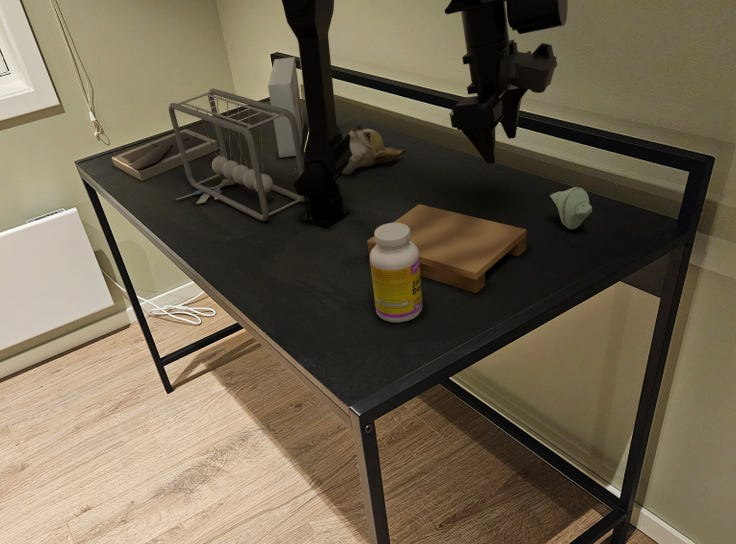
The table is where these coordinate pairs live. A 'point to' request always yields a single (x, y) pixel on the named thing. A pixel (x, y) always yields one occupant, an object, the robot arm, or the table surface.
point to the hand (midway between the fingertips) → (501, 150)
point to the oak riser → (458, 245)
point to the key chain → (206, 196)
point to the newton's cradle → (232, 168)
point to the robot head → (572, 206)
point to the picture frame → (163, 154)
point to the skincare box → (285, 103)
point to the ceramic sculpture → (368, 149)
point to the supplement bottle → (396, 274)
